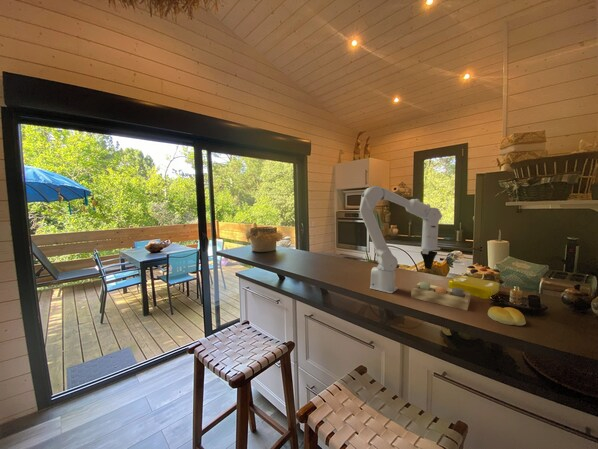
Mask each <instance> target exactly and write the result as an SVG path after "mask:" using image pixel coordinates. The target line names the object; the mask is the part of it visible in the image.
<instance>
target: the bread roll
mask: <svg viewBox="0 0 598 449" xmlns="http://www.w3.org/2000/svg"><path fill="white" fill-rule="evenodd" d="M487 316H488V318H490V319H492V320H493V321H495V322H498V323H501V324H504V325H511V326H516V327H518V326H521V327H522V326H524V325H526V323H527V322H526V317H525V316H524V314H523V313H522V312H521V311H520V310H519V309H517V308H514V307H509V306H508V307H507V306H505V307H501V306H491V307H489V309H488V311H487Z"/></svg>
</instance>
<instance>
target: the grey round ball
mask: <svg viewBox="0 0 598 449" xmlns="http://www.w3.org/2000/svg"><path fill="white" fill-rule="evenodd" d="M452 295H453V296H458V297H464V290H463V289H460V288H452Z"/></svg>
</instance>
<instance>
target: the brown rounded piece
mask: <svg viewBox="0 0 598 449" xmlns="http://www.w3.org/2000/svg"><path fill="white" fill-rule="evenodd" d="M442 287H443V286H439V287H436V288H435V292H438V293H443V294H446V289H445V288H446V287H445V288H442Z"/></svg>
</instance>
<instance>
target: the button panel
mask: <svg viewBox="0 0 598 449" xmlns="http://www.w3.org/2000/svg"><path fill="white" fill-rule="evenodd" d="M436 287H440V286H439V285H434V284H430V291H428V290H424V289H420V282H418V283H417V284H416V285H415V286H414V287H413V288H412V289H411V290H410V292H411V293H410V298H412V299H416V300H421V301H424V302H427V303H428V302H429V303H433V304H438V305H442V306H446V307H450V308H451V307H452V308H454V309H459V310H463V311H468V309H469V305H470V302H471V292H466V291H464V297H458V296H453V295H452V289H450V288H448V287H444V286H441V287H442V288H445V289H446V294H443V293H438V292H435V288H436Z"/></svg>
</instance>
